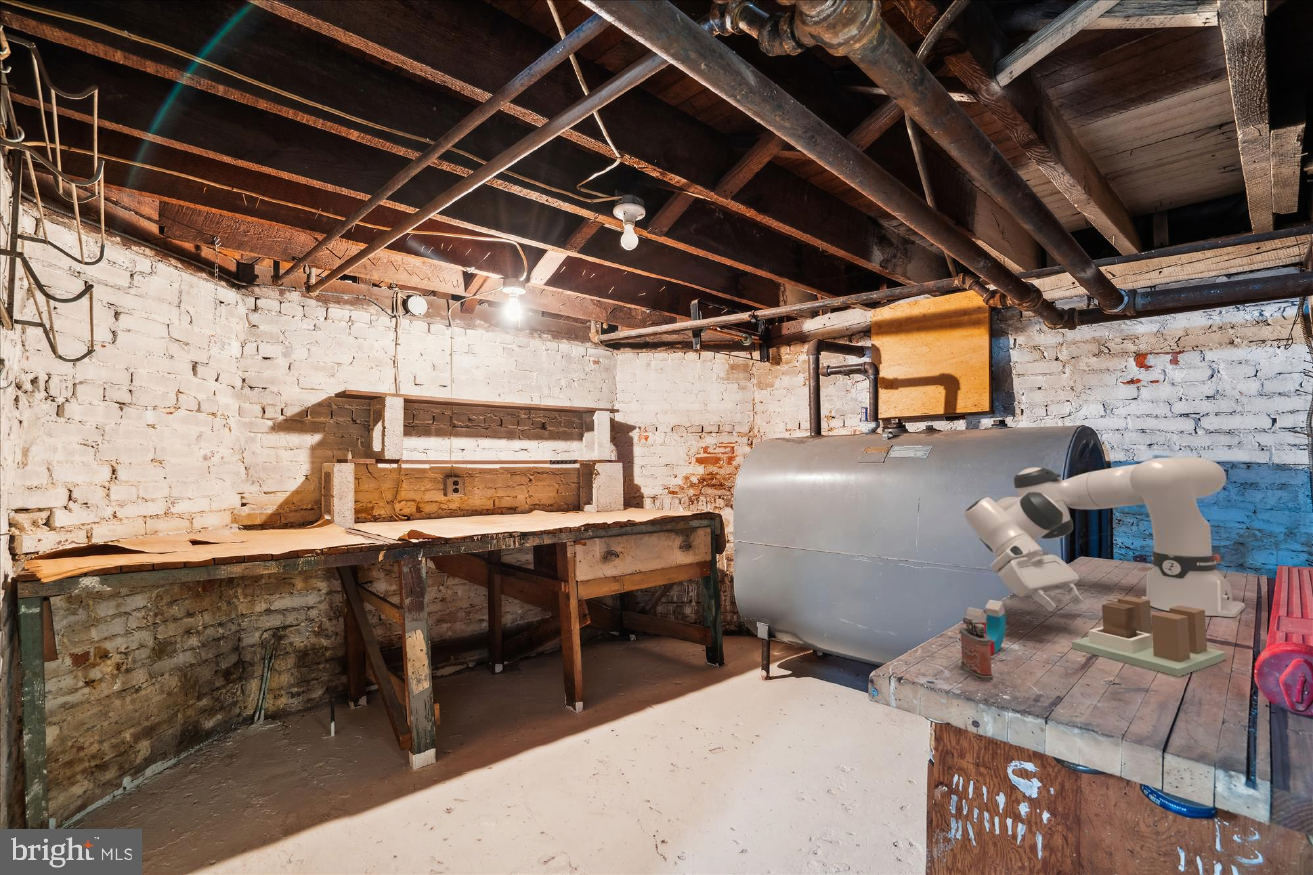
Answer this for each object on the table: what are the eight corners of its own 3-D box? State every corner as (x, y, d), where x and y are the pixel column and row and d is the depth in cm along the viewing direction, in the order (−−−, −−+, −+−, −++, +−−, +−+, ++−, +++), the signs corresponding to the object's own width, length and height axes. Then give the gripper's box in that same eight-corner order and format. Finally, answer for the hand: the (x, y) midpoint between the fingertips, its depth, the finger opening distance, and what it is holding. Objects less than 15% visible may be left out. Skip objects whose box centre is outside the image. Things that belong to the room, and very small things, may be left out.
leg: (1114, 640, 120) (1112, 602, 120) (1137, 645, 117) (1135, 606, 117) (1104, 643, 118) (1101, 604, 119) (1126, 649, 115) (1124, 608, 115)
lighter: (997, 681, 105) (995, 626, 105) (979, 681, 105) (976, 626, 105) (974, 664, 113) (971, 613, 113) (956, 665, 113) (954, 614, 113)
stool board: (1119, 634, 128) (1116, 592, 128) (1225, 659, 112) (1222, 610, 112) (1071, 648, 120) (1069, 603, 121) (1179, 677, 104) (1176, 624, 104)
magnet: (993, 644, 124) (991, 598, 124) (1007, 648, 122) (1005, 600, 122) (967, 657, 117) (964, 608, 117) (981, 661, 115) (978, 610, 115)
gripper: (1038, 558, 142) (1083, 607, 133) (984, 567, 133) (1029, 620, 124) (1056, 543, 138) (1104, 592, 129) (1002, 551, 129) (1050, 604, 120)
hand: (1067, 606), depth 126 cm, fingers open, 8 cm apart
